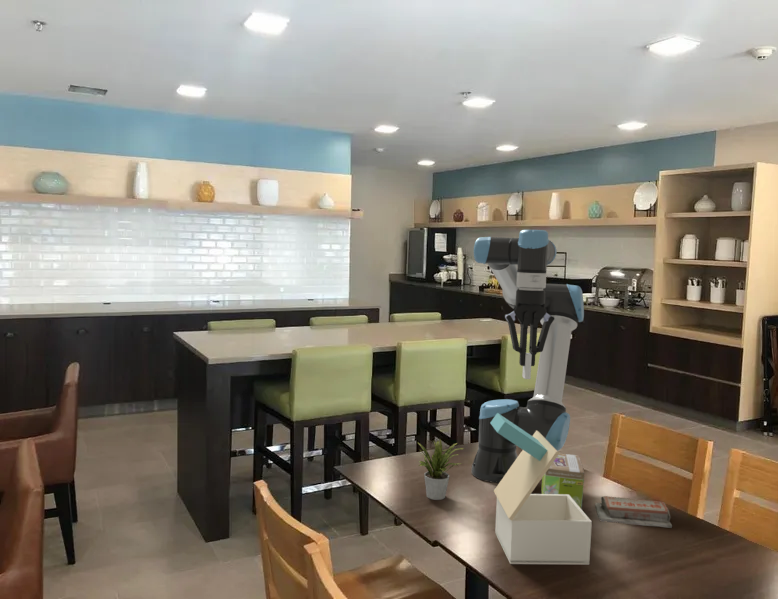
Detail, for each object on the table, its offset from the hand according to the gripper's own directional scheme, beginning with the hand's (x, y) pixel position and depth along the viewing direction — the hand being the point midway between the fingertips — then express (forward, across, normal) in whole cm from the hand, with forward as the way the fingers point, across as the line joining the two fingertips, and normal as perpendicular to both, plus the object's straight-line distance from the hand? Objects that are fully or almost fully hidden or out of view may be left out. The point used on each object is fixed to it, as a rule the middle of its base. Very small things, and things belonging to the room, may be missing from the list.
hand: (526, 377), depth 174 cm
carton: (+36, 0, -21) cm, 42 cm away
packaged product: (+37, +30, -3) cm, 48 cm away
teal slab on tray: (+19, -5, -21) cm, 29 cm away
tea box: (+37, +10, -2) cm, 38 cm away
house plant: (+37, -20, +9) cm, 43 cm away
